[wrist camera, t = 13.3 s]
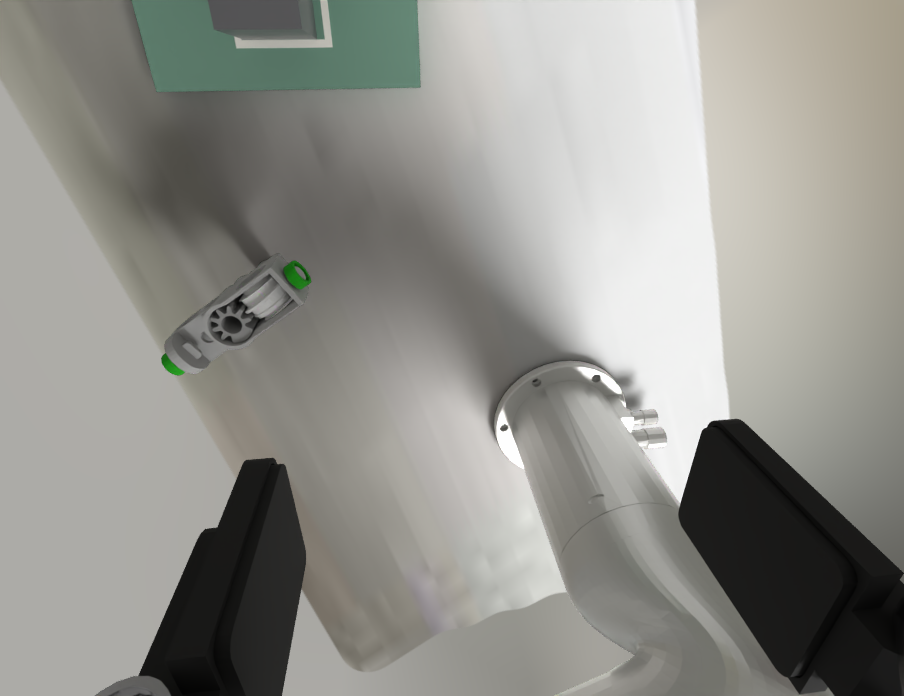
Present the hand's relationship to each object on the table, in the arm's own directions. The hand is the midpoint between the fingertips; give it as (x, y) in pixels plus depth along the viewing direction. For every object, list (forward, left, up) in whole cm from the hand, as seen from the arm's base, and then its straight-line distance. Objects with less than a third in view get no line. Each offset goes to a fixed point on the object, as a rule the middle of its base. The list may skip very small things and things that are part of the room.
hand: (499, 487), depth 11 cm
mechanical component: (+12, +4, -28) cm, 31 cm away
